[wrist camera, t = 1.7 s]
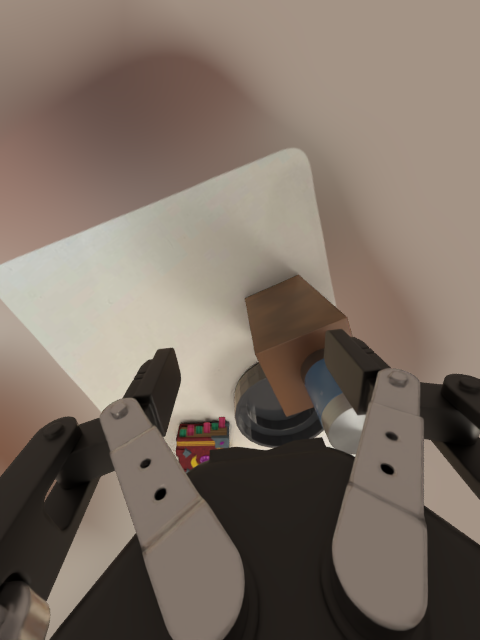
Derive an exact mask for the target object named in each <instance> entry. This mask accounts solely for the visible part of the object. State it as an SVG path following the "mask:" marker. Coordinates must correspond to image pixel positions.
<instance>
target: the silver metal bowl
mask: <svg viewBox="0 0 480 640" xmlns="http://www.w3.org/2000/svg"><path fill="white" fill-rule="evenodd" d="M234 404H235V419H236V424H237V427H238V428H239V430H240V431H241V433H242V434H243V435H244V436H245V437H246V438H248V439H249V440H250V441H252V442H254V443H256V444H258V445H261V446H265V447H270V448H276V447H278V446H281V445H284V444H286V443H289V442H292V441H294V440H303V439H312V438H315V437H316V436H318V435H319V434H320V433H321V432H322V431H323V430H324V428H323V427H322V425H321V423H320V420H319V418H318V416H317V414H316V411H315V409H314V407H313V408H310V409H307V410H304V411H302V412H299V413H296V414H293V415H290V416H288V417H286V415H285V413H284V411H283V409H282V407H281V405H280V403H279V401H278V399H277V397H276V395H275V393H274V391H273V389H272V387H271V385H270V383H269V381H268V379H267V377H266V375H265V373H264V371H263V369H262V367H261V365H260V363H259V364H257V365H255V366H254V367H252V368H251V369H250V370H248V371H247V372H246V373H245V374H244V375H243V377H242V378H241V379H240V380H239V382H238V385H237V387H236V389H235V397H234Z"/></svg>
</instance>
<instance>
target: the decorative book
mask: <svg viewBox="0 0 480 640" xmlns="http://www.w3.org/2000/svg"><path fill="white" fill-rule="evenodd" d="M176 441H177V447H176V457H178V458H179V463H180V465H181V466H182V468H183V470H184V471H185V473H187V472H189V471H190V470H191V469H192V468H194V467H195V466H197V465H199V464H201V463H203V462H205V461H207V460H209V454H210V450H213V449H222V448H229V422H225V417H219V422H213V423H212V424H210V422H204V424H180V425H179V429H178V434H177V438H176Z"/></svg>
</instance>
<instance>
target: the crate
mask: <svg viewBox="0 0 480 640" xmlns="http://www.w3.org/2000/svg"><path fill="white" fill-rule="evenodd" d="M245 302H246V308H247V313H248V318H249V324H250V329H251V335H252V340H253V346H254V351H255V355H256V357H257V359H258V361H259V363H260V365H261V367H262V369H263V371H264V373H265V375H266V377H267V379H268V381H269V383H270V385H271V387H272V389H273V391H274V393H275V395H276V397H277V399H278V401H279V403H280V405H281V407H282V409H283V411H284V413H285V415H286V417H288V416H290V415H293V414H296V413H299V412H302V411H304V410H307V409H310V408H313V404H312V402H311V400H310V398H309V395H308V393H307V391H306V388H305V385H304V383H303V380H302V378H301V367H302V364H303V362H304V361H305V360H306V358H307V357H308V356H310V355H311V354H312V353H314V352H316V351H318V350H320V349H324V348H325V333H326V331H327V330H336V329H343V330H344V331H345V332H346V333H347V334H348V335H349V336H350V337H353V336H352V333H351V329H350V326H349V322H348V318H347V317H346V316H345V315H344V314H343V313H342V312H341V311H339V310H338V309H337V308H336V307H335V306H334V305H333V304H331V303H330V302H329V301H328V300H327V299H326V298H325V297H323V296H322V295H321V294H320V293H319V292H318V291H317V290H315V289H314V288H313V287H312V286H311V285H310V284H309V283H307V282H306V281H305V280H304V279H303V278H302V277H301V276H299V275H297V276H295V277H292V278H290V279H288V280H285V281H283V282H281V283H279V284H276V285H274V286H272V287H270V288H267V289H265V290H263V291H260V292H258V293H256V294H254V295H251V296H249V297H247V298H245Z"/></svg>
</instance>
